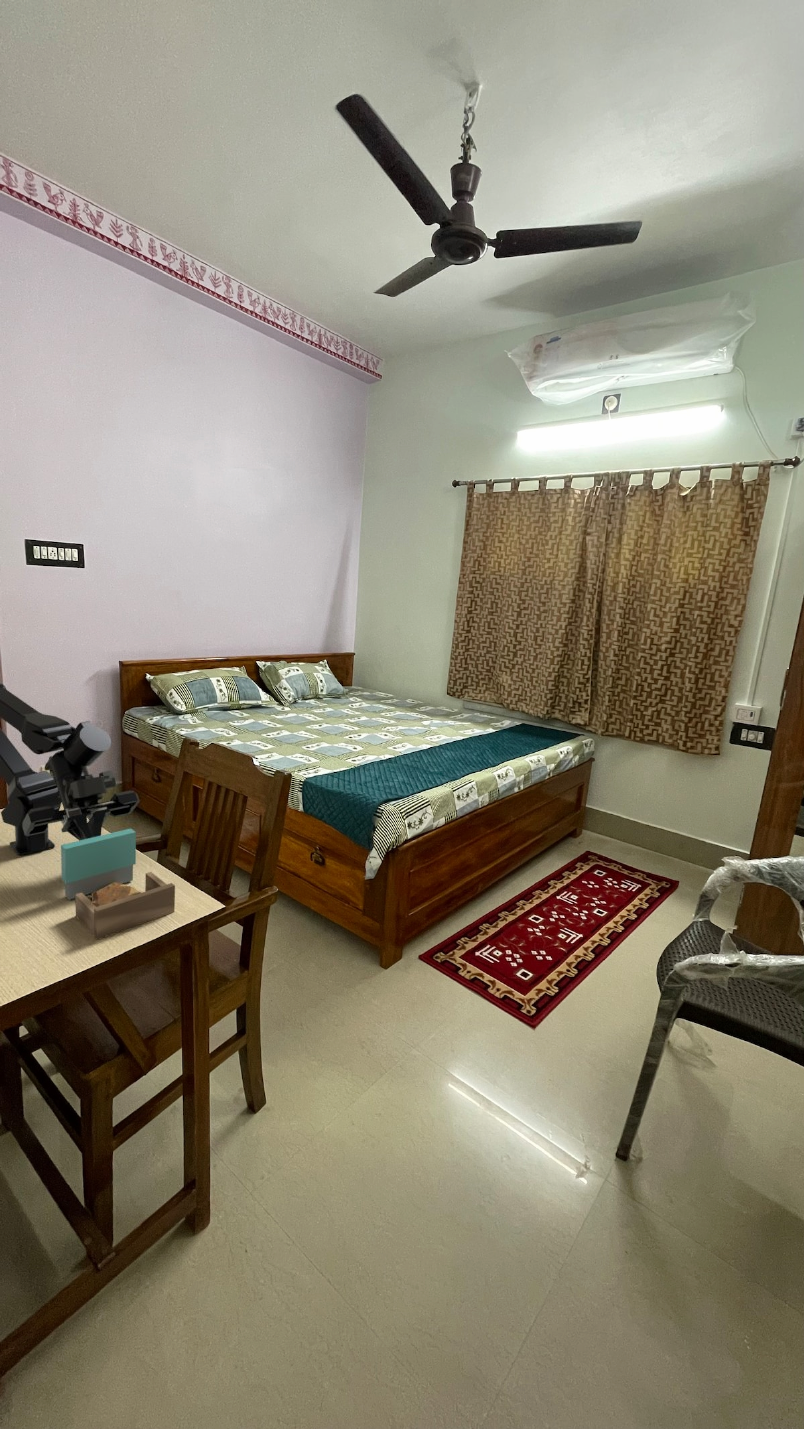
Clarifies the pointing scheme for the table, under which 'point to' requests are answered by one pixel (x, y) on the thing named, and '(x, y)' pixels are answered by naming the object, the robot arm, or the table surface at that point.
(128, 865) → the block
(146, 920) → the box
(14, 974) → the table surface
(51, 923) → the table surface
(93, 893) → the shard
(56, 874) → the table surface
